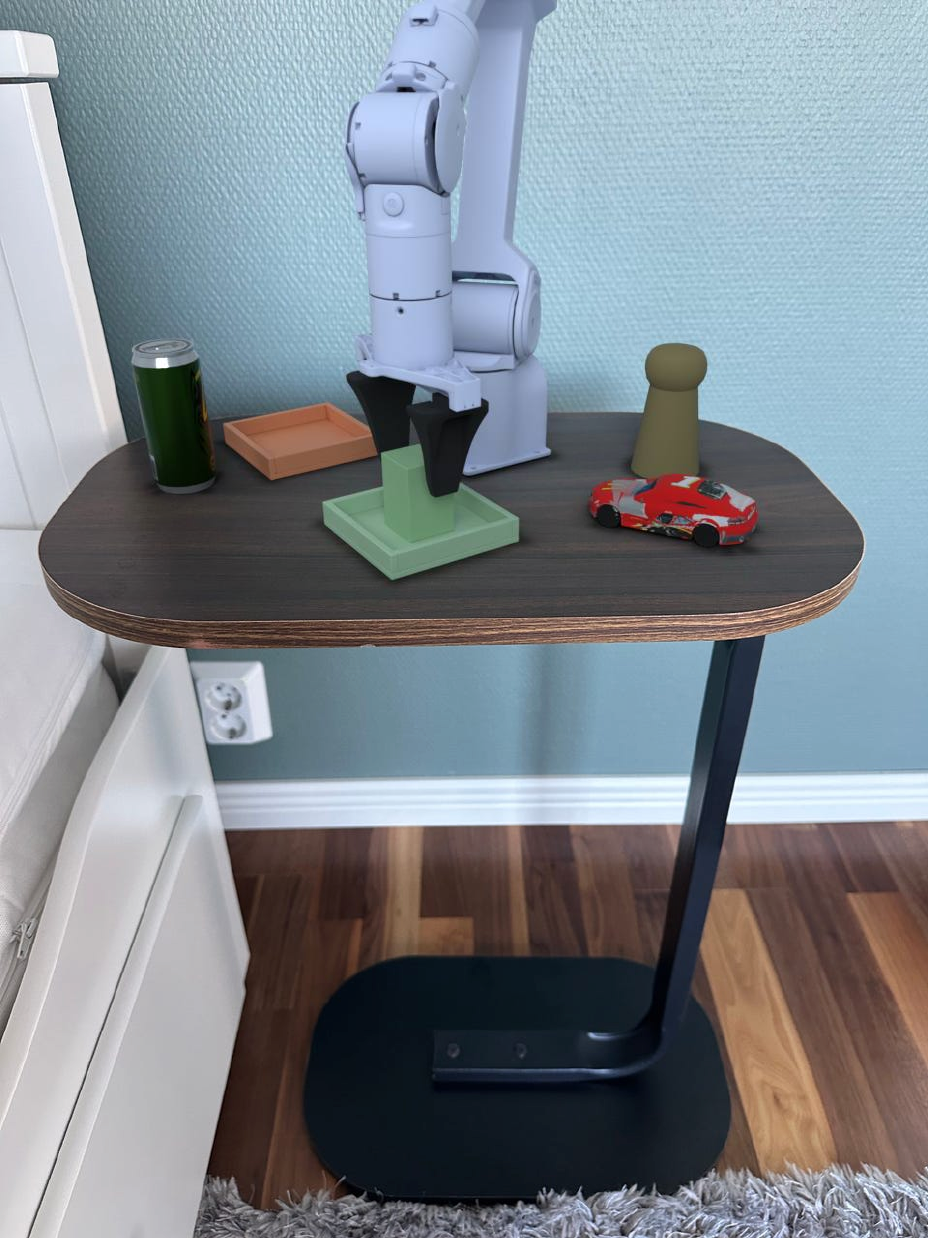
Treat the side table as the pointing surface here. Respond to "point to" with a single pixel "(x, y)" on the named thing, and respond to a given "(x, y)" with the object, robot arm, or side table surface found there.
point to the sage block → (413, 497)
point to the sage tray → (396, 557)
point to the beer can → (174, 414)
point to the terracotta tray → (300, 440)
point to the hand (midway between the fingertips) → (417, 476)
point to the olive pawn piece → (670, 412)
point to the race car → (677, 508)
